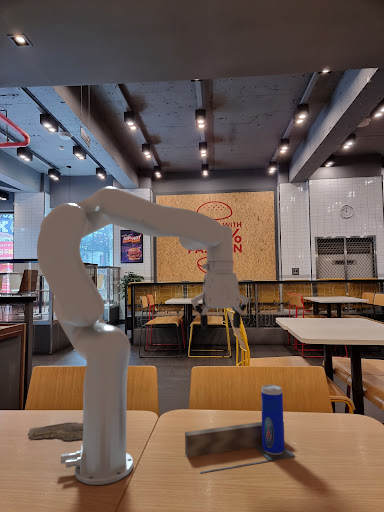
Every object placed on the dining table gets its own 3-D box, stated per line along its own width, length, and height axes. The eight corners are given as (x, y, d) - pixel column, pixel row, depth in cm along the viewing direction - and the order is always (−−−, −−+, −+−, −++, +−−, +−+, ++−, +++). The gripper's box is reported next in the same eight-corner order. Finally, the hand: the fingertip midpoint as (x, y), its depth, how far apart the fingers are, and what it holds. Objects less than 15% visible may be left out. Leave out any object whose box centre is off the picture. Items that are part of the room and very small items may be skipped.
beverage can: (258, 448, 83) (256, 385, 84) (275, 443, 85) (273, 383, 86) (271, 457, 78) (269, 391, 79) (288, 453, 80) (286, 388, 82)
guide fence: (196, 474, 72) (195, 449, 73) (185, 453, 81) (185, 432, 82) (300, 456, 80) (300, 434, 80) (280, 438, 88) (279, 419, 89)
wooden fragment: (16, 440, 89) (16, 436, 89) (39, 423, 100) (39, 419, 100) (110, 444, 87) (110, 440, 87) (123, 426, 98) (123, 422, 98)
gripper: (195, 267, 91) (195, 331, 89) (253, 267, 96) (254, 328, 94) (187, 268, 98) (188, 328, 97) (242, 269, 103) (243, 325, 101)
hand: (220, 328), depth 95 cm, fingers open, 9 cm apart
